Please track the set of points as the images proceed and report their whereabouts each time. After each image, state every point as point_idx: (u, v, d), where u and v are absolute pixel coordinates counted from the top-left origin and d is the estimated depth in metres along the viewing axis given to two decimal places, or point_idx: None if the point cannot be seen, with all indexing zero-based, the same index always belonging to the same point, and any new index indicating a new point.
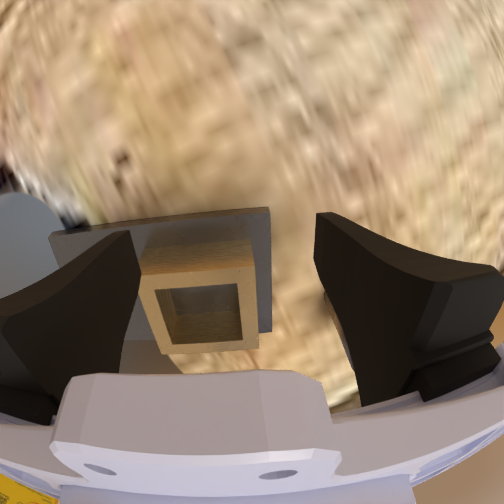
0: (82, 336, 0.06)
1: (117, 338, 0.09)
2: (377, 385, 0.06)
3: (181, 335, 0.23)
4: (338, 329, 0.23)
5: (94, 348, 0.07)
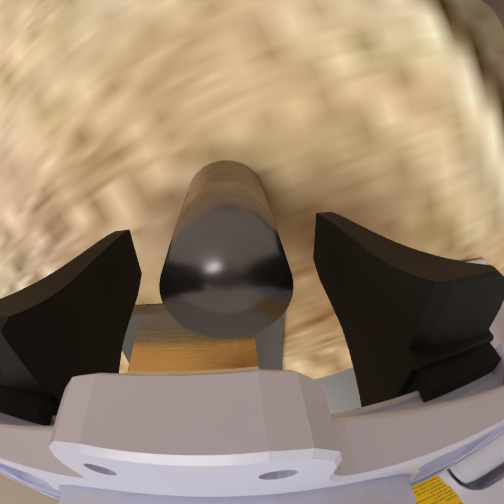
0: (82, 336, 0.06)
1: (117, 338, 0.09)
2: (377, 385, 0.06)
3: None
4: None
5: (94, 348, 0.07)
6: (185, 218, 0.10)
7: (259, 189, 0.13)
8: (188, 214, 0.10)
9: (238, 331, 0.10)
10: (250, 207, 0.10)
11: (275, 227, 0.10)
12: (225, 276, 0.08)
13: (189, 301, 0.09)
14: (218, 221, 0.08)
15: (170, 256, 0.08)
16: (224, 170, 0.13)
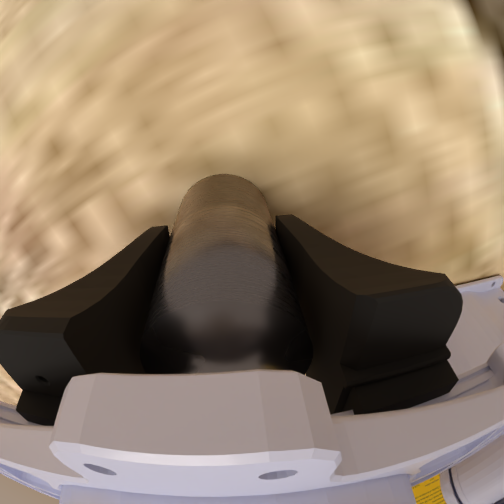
0: (134, 336, 0.06)
1: None
2: None
3: None
4: None
5: None
6: (171, 262, 0.07)
7: (265, 213, 0.10)
8: (175, 256, 0.07)
9: None
10: (256, 247, 0.07)
11: (288, 270, 0.08)
12: (225, 349, 0.06)
13: (179, 373, 0.06)
14: (214, 277, 0.06)
15: (150, 325, 0.06)
16: (221, 189, 0.10)
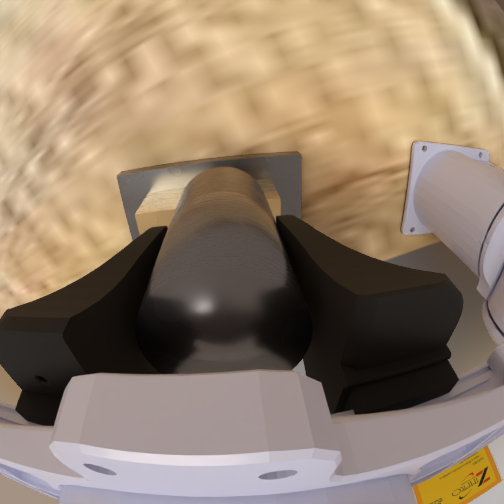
0: (133, 336, 0.06)
1: None
2: None
3: None
4: None
5: None
6: (172, 239, 0.07)
7: (265, 203, 0.10)
8: (176, 234, 0.07)
9: None
10: (257, 228, 0.07)
11: (287, 254, 0.08)
12: (224, 324, 0.06)
13: (175, 351, 0.06)
14: (216, 249, 0.06)
15: (148, 295, 0.06)
16: (223, 178, 0.11)
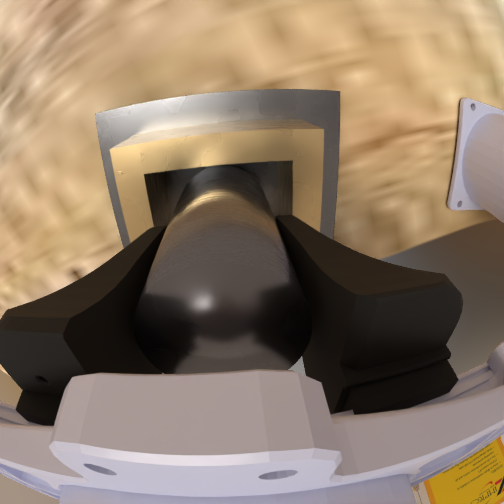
0: (134, 336, 0.06)
1: None
2: None
3: None
4: None
5: None
6: (172, 235, 0.07)
7: (265, 202, 0.10)
8: (176, 229, 0.07)
9: None
10: (257, 224, 0.07)
11: (287, 251, 0.08)
12: (223, 319, 0.06)
13: (173, 346, 0.06)
14: (216, 243, 0.06)
15: (148, 288, 0.06)
16: (223, 177, 0.11)
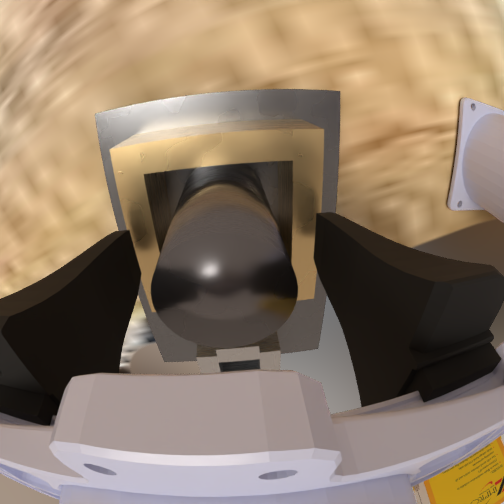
0: (82, 336, 0.06)
1: (117, 338, 0.09)
2: (377, 385, 0.06)
3: None
4: None
5: (94, 348, 0.07)
6: (182, 214, 0.09)
7: (261, 189, 0.12)
8: (185, 210, 0.09)
9: (234, 340, 0.09)
10: (253, 206, 0.09)
11: (278, 229, 0.10)
12: (225, 280, 0.08)
13: (182, 305, 0.08)
14: (219, 219, 0.07)
15: (164, 255, 0.07)
16: (224, 167, 0.12)
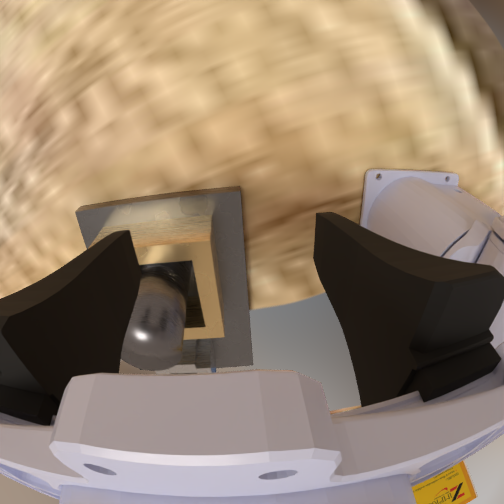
0: (82, 336, 0.06)
1: (117, 338, 0.09)
2: (377, 385, 0.06)
3: None
4: None
5: (94, 348, 0.07)
6: None
7: (179, 273, 0.18)
8: None
9: (156, 367, 0.15)
10: (162, 298, 0.15)
11: (180, 308, 0.16)
12: (144, 341, 0.14)
13: (127, 350, 0.14)
14: (139, 312, 0.14)
15: None
16: None
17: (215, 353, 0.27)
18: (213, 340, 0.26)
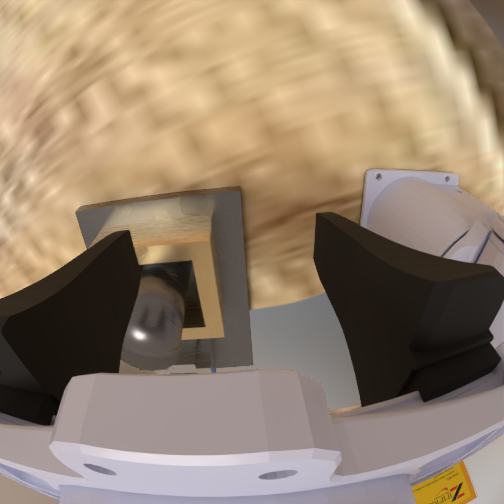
0: (82, 336, 0.06)
1: (117, 338, 0.09)
2: (377, 385, 0.06)
3: None
4: None
5: (94, 348, 0.07)
6: None
7: (179, 273, 0.18)
8: None
9: (153, 367, 0.15)
10: (160, 298, 0.15)
11: (178, 308, 0.16)
12: (141, 340, 0.14)
13: (124, 349, 0.14)
14: (137, 312, 0.14)
15: None
16: None
17: (215, 353, 0.27)
18: (213, 340, 0.26)
